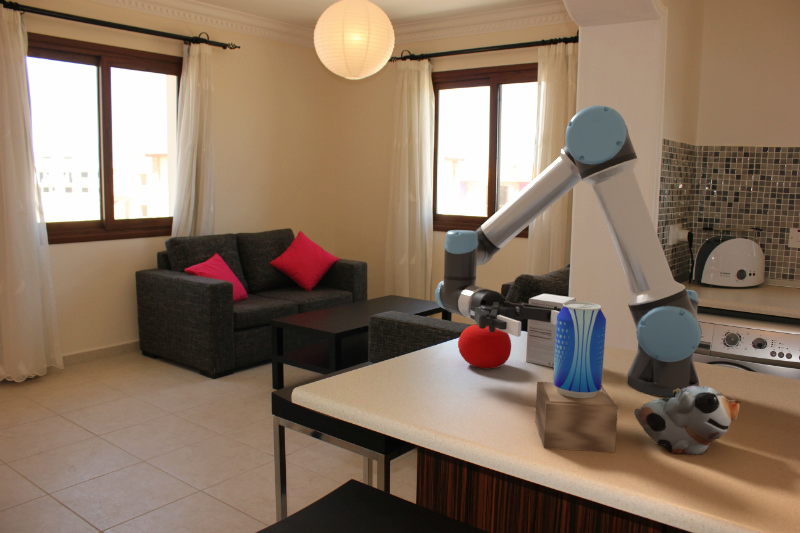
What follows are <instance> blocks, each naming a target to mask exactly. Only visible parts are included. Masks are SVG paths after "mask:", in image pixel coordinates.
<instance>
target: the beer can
mask: <svg viewBox="0 0 800 533" xmlns="http://www.w3.org/2000/svg"><path fill="white" fill-rule="evenodd" d="M602 309H603V308H602V305H600V304H598V303H594V302H588V301H587V302H586V301H576V302H566V303H563V308H562V309H561V311H560V312H559V313H558V315H557V324H556V340H555V357H554V367H553V378H552V383H553V384H554V386H555V387H556V389H557V392H558V393H560V394H562V395H564V396H567V397H572V398H580V399H586V398H593V397H595V396H596V395H597V393H598V392H599V391H600V390H601V386H603V385H602V383H603V370H604V356H605V355H604V353H605V344H606V343H605V341H606V329H607V327H606V325H607V318H606V317H605V314H604V313H603V311H602Z"/></svg>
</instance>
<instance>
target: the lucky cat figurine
mask: <svg viewBox="0 0 800 533" xmlns="http://www.w3.org/2000/svg"><path fill="white" fill-rule="evenodd" d="M741 402H742V401H741V400H738V399H731V400H729V399H728V398H727V397H726V396H725V395H724V394H723V393H722V392H720V391H718V390H716V389H715V388H713V387H709V386H706V385H705V386H700V385H699V386H689V387H686V388H683V389H681V390H680V389H679V388H677V389H675V390H673V391H672V397H664V396H663V397H662V398H661V397H660V398H655V399H653V400H652V401H648V402H646V403H645V404H643V405H642V406H641V407H639V408H635V410H634V412H633V415H634V416H635V419H636V421H637V422H638V423H639V424H640V426H641V428H642V429H643V431H644V432H645V433H646V435H647V436H649V437H650V439H651V440H652V441H653V442H654V443H656V444H657V445H659V446H665V447H666V450H667V451H668V452H669V453H672V454H673V455H674V454H676V455H702V454H703V453H705V451H706V450H708V449H709V446H710V444H711V443H713V442H714V441H716V440H719V439H720V438H721V437H723V435H724V434H726V433H727V432H728V431H729V428H730V425H731V423H732V422H734V421H735V420H737V418H738V416H739V411H740V404H741Z"/></svg>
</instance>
